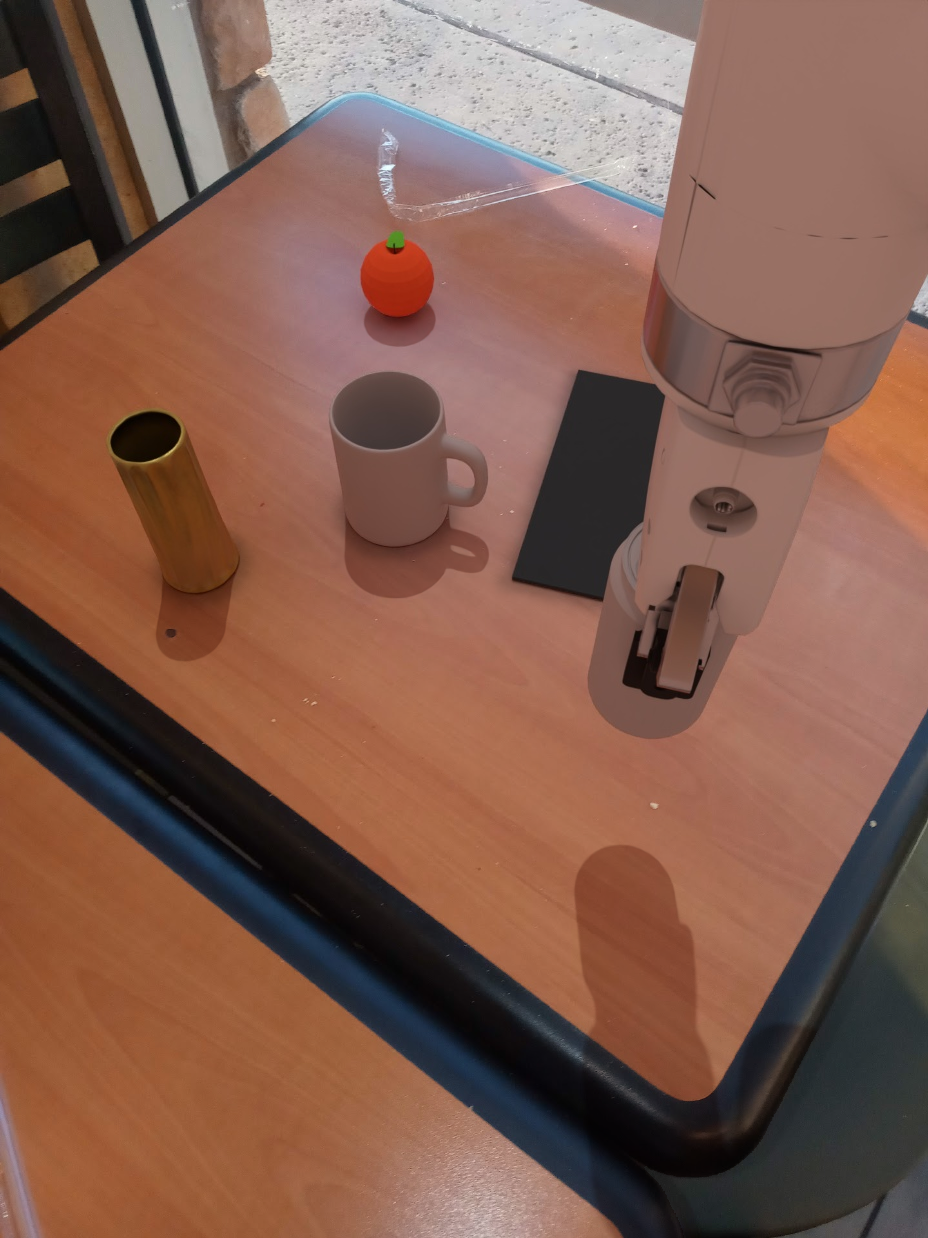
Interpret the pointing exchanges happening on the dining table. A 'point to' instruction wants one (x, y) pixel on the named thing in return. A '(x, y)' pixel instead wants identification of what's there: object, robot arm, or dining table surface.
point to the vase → (172, 499)
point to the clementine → (397, 276)
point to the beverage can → (612, 650)
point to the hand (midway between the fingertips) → (668, 621)
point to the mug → (398, 458)
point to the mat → (592, 484)
